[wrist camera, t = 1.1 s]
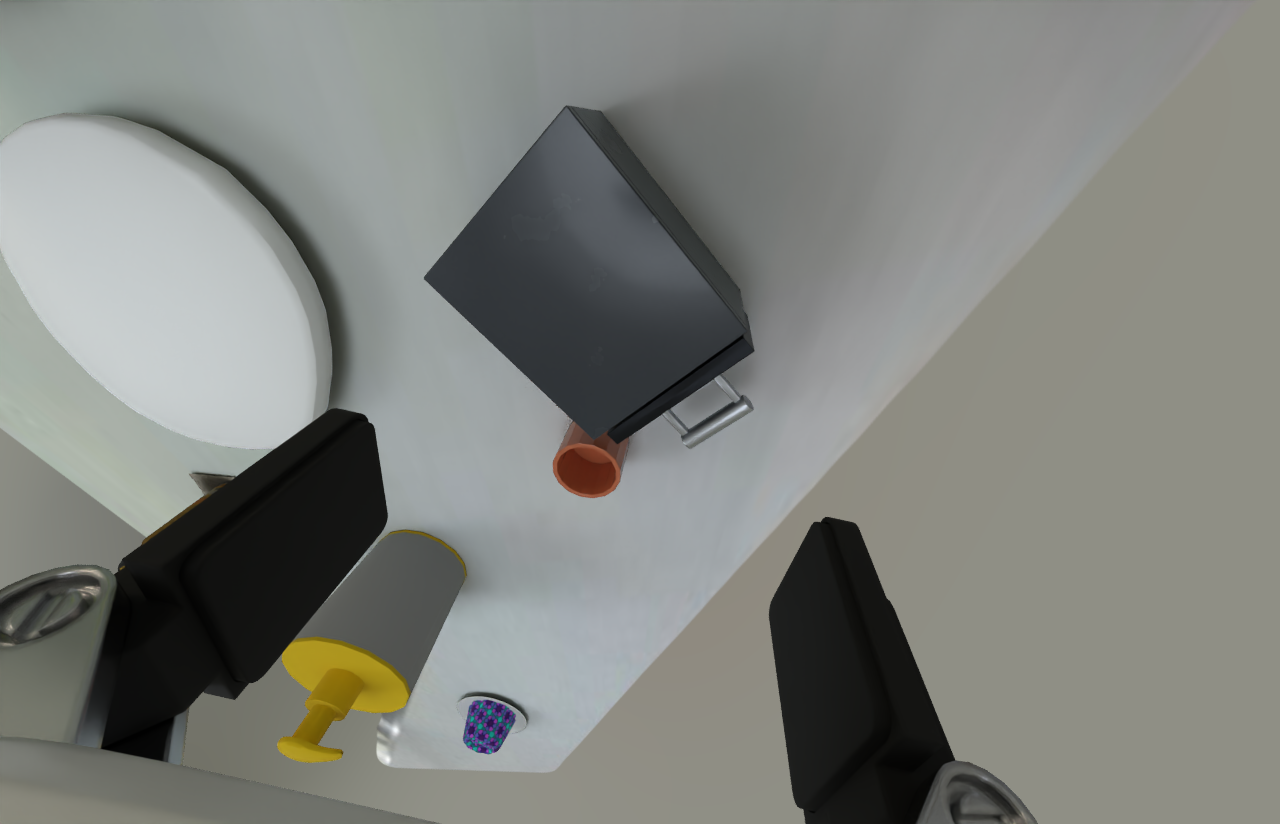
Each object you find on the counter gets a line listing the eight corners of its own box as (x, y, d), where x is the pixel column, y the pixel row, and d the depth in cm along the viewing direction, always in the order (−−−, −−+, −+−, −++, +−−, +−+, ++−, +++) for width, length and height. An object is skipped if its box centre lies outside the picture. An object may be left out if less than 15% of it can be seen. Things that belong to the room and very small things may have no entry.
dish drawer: (783, 360, 37) (796, 403, 31) (666, 436, 42) (659, 485, 36) (620, 154, 31) (599, 159, 25) (507, 274, 36) (468, 301, 30)
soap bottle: (469, 606, 62) (372, 799, 44) (375, 579, 62) (238, 763, 44) (476, 543, 55) (363, 743, 37) (369, 512, 55) (204, 699, 37)
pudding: (444, 697, 77) (428, 732, 72) (498, 686, 72) (484, 722, 68) (489, 732, 81) (476, 767, 77) (542, 724, 77) (531, 760, 73)
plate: (-125, 128, 32) (191, 83, 28) (1, 138, 38) (278, 102, 34) (100, 466, 44) (346, 468, 40) (171, 434, 50) (392, 433, 46)
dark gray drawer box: (740, 290, 35) (748, 331, 28) (614, 385, 41) (593, 440, 34) (600, 110, 30) (566, 104, 23) (480, 248, 36) (422, 278, 29)
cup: (598, 400, 42) (585, 431, 38) (641, 443, 44) (634, 478, 40) (555, 433, 45) (539, 465, 40) (598, 472, 47) (586, 507, 42)
